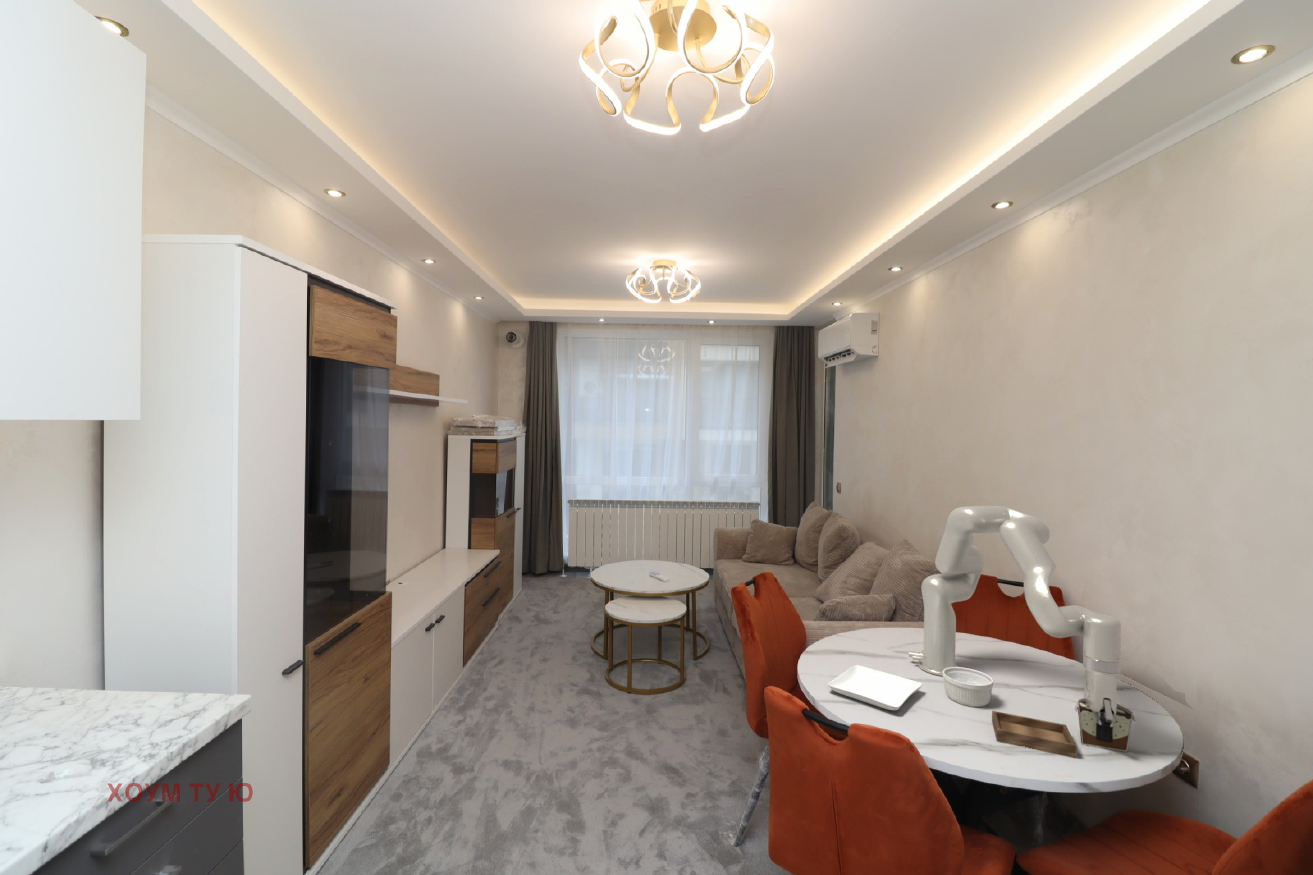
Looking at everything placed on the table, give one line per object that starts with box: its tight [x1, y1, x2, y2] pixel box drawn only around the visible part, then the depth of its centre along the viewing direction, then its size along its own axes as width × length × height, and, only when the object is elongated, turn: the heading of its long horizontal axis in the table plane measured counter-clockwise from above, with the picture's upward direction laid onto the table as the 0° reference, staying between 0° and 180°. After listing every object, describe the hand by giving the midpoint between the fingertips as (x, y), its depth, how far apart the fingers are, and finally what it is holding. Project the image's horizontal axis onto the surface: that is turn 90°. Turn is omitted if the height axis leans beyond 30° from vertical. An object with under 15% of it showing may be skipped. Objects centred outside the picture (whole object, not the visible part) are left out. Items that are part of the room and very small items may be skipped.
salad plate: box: [827, 664, 923, 711], centre depth 170 cm, size 21×21×3 cm
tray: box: [991, 710, 1077, 759], centre depth 145 cm, size 17×11×3 cm
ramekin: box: [942, 666, 994, 708], centre depth 168 cm, size 13×13×7 cm
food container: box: [1074, 697, 1136, 753], centre depth 145 cm, size 12×6×10 cm, turn 71°
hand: (1100, 734), depth 144 cm, fingers closed on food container, 5 cm apart
